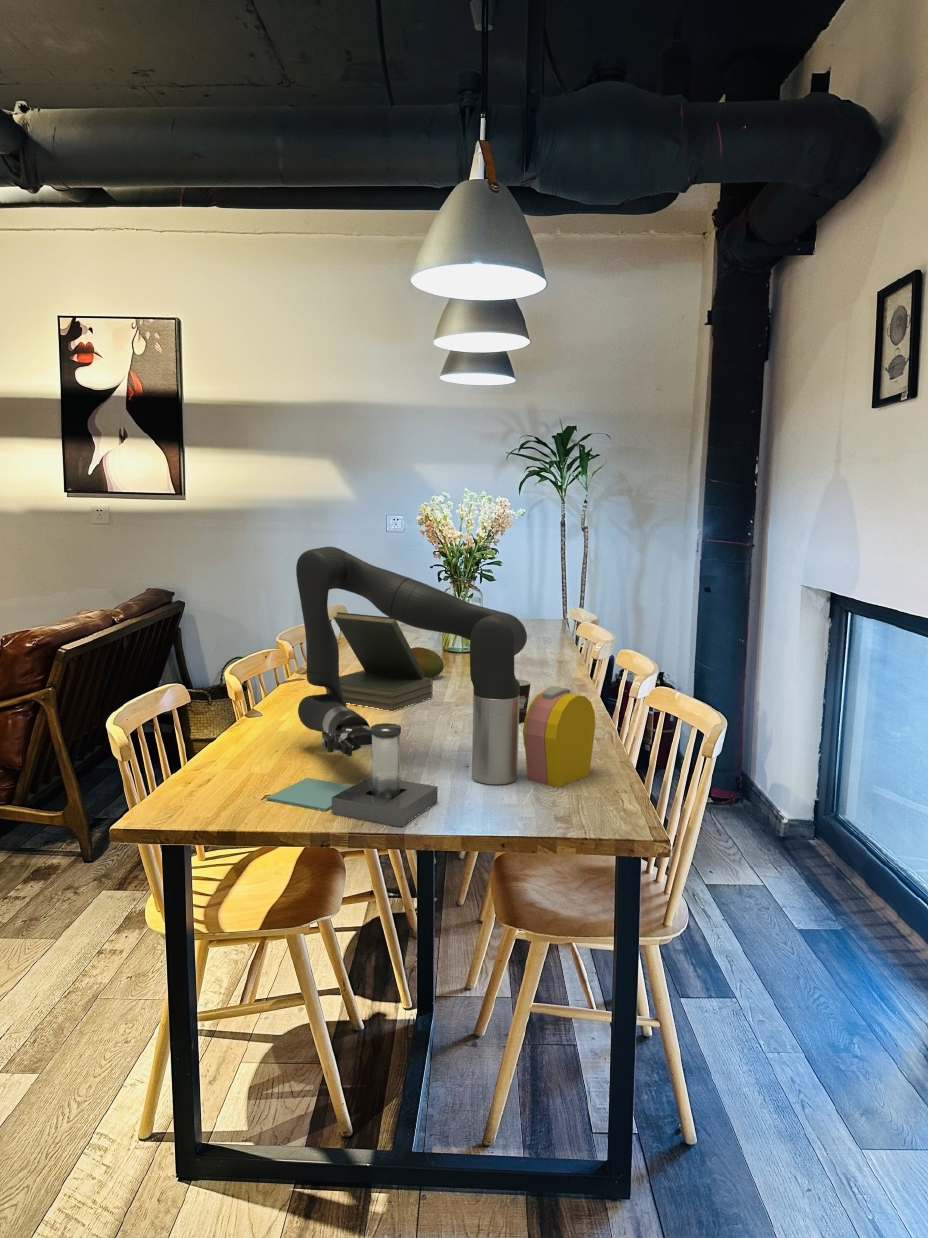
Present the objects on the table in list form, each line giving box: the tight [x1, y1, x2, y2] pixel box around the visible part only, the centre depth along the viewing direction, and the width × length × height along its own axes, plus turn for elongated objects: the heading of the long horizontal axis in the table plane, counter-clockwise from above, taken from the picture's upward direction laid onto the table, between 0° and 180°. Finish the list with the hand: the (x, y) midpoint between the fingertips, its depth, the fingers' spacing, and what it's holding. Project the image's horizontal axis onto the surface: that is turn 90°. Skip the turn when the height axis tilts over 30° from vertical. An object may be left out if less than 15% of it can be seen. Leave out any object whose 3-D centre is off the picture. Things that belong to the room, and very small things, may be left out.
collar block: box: [331, 775, 439, 827], centre depth 156 cm, size 14×14×3 cm
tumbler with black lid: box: [370, 722, 402, 799], centre depth 155 cm, size 5×5×15 cm
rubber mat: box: [265, 777, 353, 812], centre depth 162 cm, size 13×13×1 cm
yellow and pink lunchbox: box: [522, 685, 596, 788], centre depth 175 cm, size 15×8×18 cm, turn 141°
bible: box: [324, 611, 434, 712], centre depth 239 cm, size 23×20×25 cm
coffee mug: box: [516, 678, 532, 724], centre depth 220 cm, size 12×9×10 cm
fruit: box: [410, 646, 445, 679], centre depth 271 cm, size 12×12×10 cm
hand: (372, 748), depth 161 cm, fingers open, 8 cm apart
